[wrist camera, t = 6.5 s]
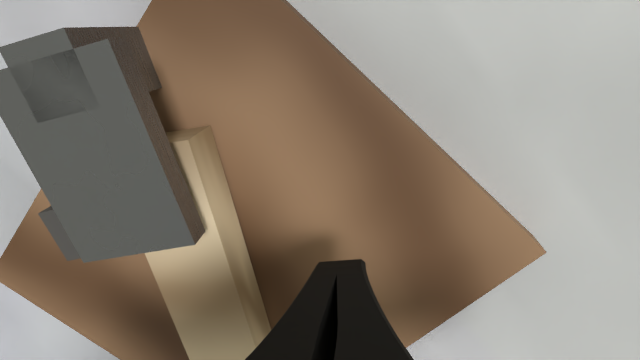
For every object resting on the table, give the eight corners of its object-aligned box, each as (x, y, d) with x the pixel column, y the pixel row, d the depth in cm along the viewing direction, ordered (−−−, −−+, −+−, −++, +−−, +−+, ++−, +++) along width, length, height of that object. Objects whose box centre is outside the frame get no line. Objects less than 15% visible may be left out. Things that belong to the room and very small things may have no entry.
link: (310, 416, 18) (297, 513, 15) (228, 417, 19) (196, 510, 16) (228, 122, 13) (176, 161, 9) (117, 140, 14) (27, 182, 10)
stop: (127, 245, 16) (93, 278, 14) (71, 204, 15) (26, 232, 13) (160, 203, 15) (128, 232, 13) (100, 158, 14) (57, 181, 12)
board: (263, 426, 21) (257, 448, 20) (12, 260, 18) (-10, 275, 17) (533, 235, 15) (546, 252, 14) (213, -69, 12) (198, -79, 11)
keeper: (139, 214, 15) (83, 263, 12) (61, 49, 13) (-34, 57, 10) (230, 197, 14) (195, 245, 11) (165, 18, 12) (98, 16, 9)
